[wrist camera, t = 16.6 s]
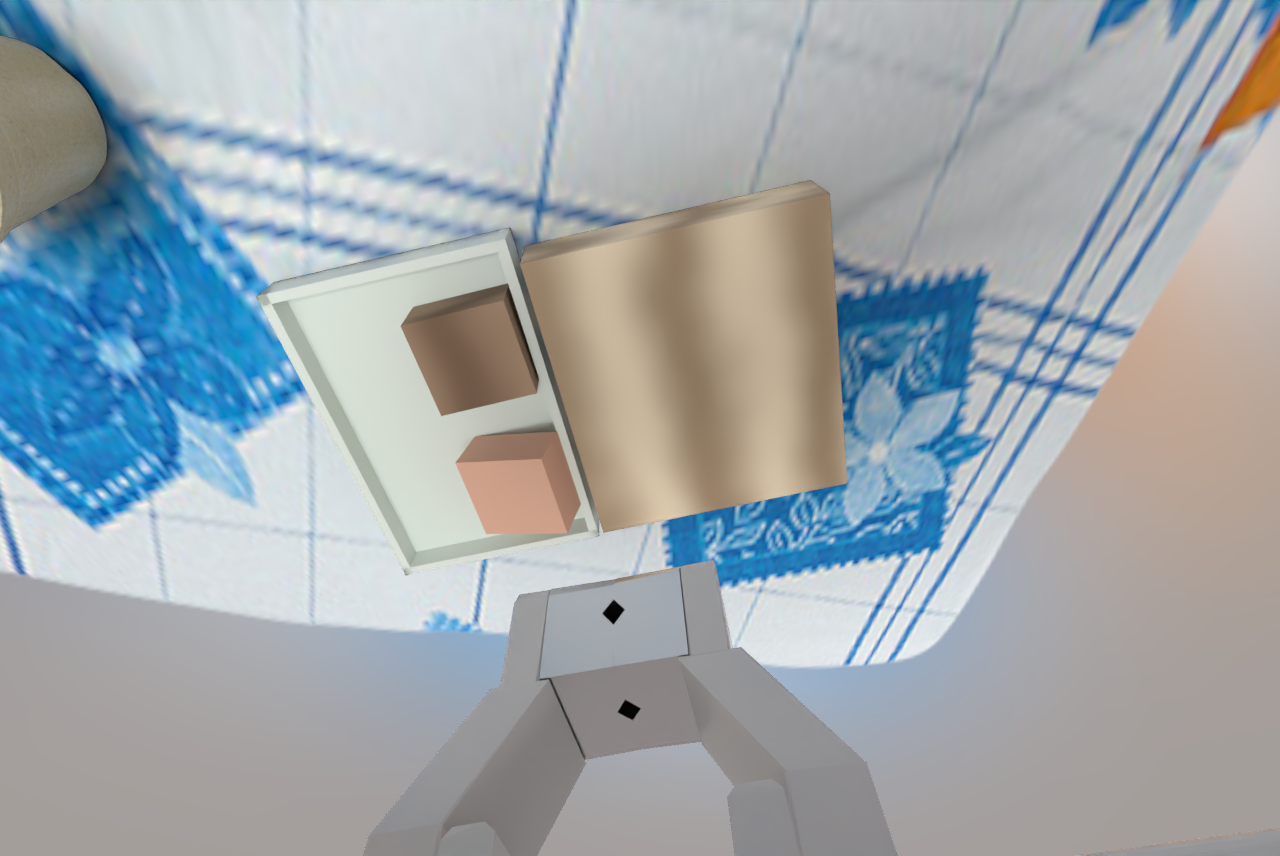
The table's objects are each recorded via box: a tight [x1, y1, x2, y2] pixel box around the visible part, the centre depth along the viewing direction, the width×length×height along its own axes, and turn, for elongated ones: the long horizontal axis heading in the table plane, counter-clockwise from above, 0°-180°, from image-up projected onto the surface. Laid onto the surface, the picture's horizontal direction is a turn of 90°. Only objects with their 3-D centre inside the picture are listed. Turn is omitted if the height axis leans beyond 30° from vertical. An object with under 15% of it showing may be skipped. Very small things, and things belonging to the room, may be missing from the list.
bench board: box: [520, 180, 847, 532], centre depth 35 cm, size 14×16×3 cm
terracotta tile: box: [455, 432, 581, 534], centre depth 37 cm, size 5×5×2 cm
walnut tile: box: [401, 283, 539, 416], centre depth 33 cm, size 5×5×2 cm
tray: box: [256, 228, 599, 575], centre depth 36 cm, size 12×18×2 cm, turn 12°
